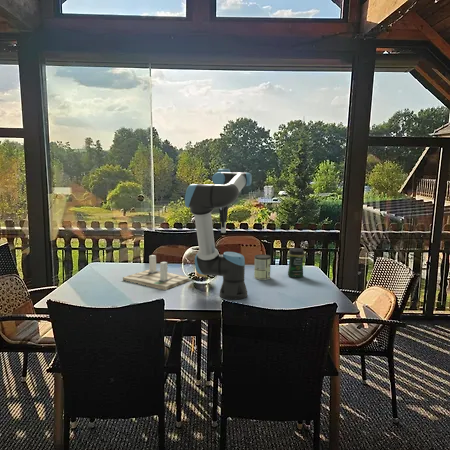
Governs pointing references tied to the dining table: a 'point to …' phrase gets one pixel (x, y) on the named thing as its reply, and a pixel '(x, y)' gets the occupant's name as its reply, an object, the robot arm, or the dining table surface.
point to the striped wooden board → (156, 279)
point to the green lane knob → (163, 272)
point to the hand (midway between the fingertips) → (223, 232)
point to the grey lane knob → (152, 264)
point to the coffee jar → (296, 262)
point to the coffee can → (262, 267)
